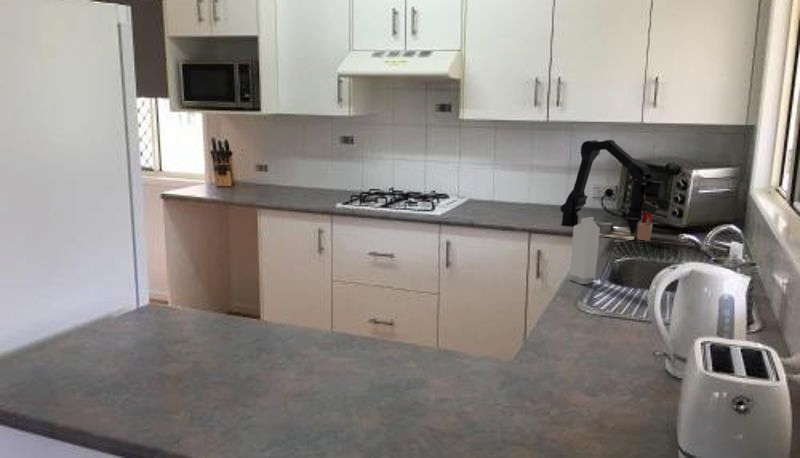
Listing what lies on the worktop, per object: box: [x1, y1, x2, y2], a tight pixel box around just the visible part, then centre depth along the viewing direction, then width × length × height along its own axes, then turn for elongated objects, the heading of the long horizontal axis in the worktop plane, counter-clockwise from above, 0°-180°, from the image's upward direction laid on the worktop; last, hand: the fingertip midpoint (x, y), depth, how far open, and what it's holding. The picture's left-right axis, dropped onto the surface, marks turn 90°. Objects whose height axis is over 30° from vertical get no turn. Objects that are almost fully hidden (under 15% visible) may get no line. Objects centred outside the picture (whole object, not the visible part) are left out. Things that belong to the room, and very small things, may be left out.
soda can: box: [638, 211, 653, 225], centre depth 303 cm, size 7×7×12 cm
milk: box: [569, 216, 600, 280], centre depth 224 cm, size 6×6×22 cm
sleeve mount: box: [593, 220, 637, 241], centre depth 292 cm, size 23×11×5 cm, turn 65°
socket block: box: [636, 222, 653, 242], centre depth 285 cm, size 5×7×6 cm
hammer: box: [611, 223, 638, 237], centre depth 288 cm, size 18×3×6 cm, turn 65°
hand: (633, 231), depth 287 cm, fingers open, 9 cm apart
